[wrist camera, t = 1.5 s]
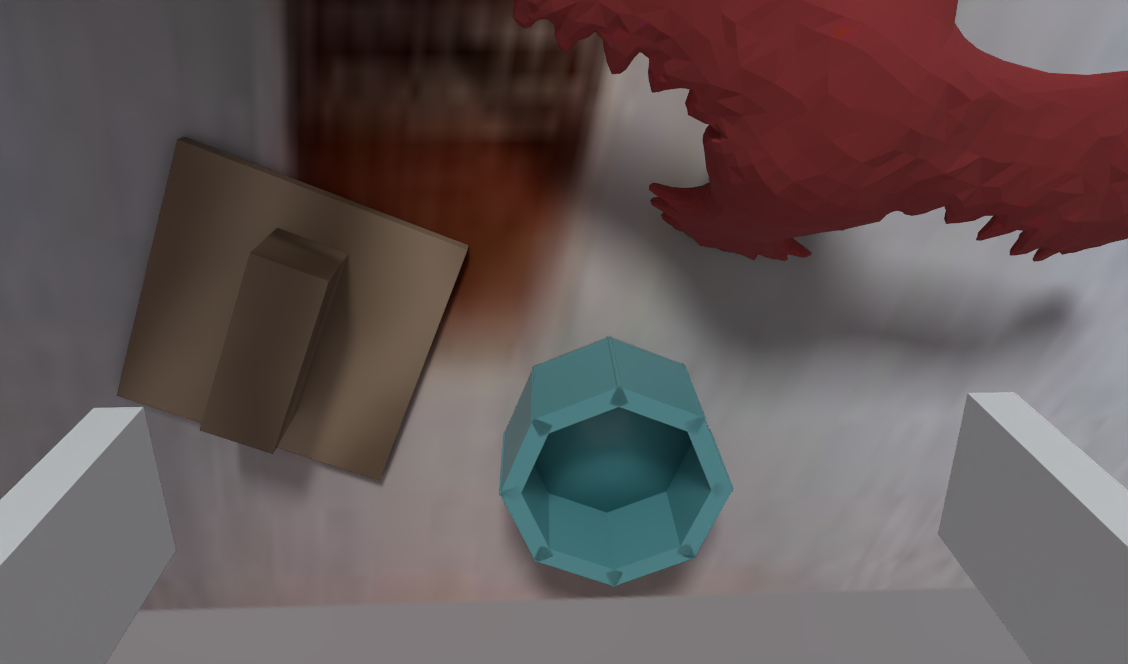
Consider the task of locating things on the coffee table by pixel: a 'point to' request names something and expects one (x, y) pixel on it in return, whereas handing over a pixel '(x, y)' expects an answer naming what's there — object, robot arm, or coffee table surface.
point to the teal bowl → (611, 464)
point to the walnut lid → (285, 312)
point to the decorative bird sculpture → (865, 121)
